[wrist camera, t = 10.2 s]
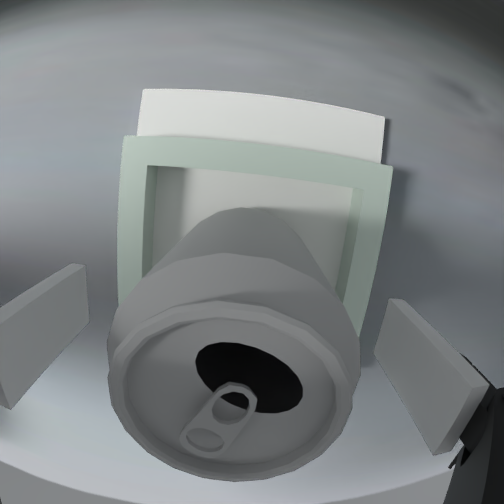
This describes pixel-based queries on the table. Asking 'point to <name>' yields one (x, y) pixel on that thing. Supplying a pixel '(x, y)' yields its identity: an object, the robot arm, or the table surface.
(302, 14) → the table surface
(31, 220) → the table surface
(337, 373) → the can
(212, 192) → the green and white tray
